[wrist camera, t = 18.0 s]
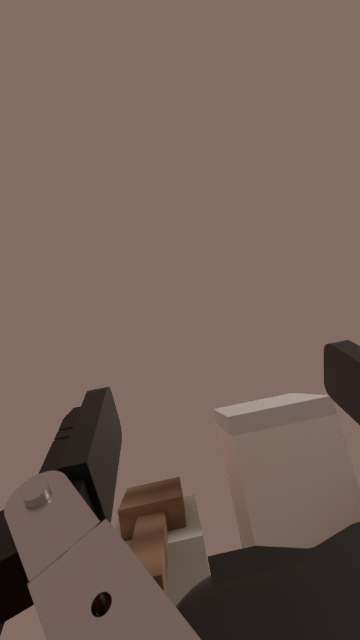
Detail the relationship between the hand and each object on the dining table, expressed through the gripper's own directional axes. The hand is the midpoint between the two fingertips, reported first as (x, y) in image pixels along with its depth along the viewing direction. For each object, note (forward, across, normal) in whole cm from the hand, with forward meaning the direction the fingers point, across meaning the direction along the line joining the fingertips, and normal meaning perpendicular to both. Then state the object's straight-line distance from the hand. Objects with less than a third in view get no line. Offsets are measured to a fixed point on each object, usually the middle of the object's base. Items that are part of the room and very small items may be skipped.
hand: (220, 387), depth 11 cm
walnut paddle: (+12, +7, +24) cm, 27 cm away
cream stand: (+6, -9, +45) cm, 46 cm away
